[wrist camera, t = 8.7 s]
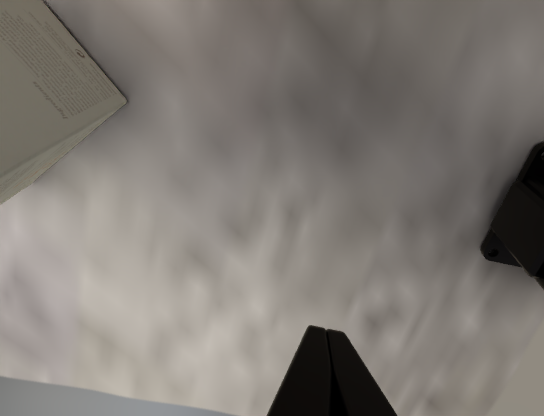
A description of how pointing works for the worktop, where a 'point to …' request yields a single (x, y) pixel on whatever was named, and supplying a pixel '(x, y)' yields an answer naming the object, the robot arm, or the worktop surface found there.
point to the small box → (44, 93)
